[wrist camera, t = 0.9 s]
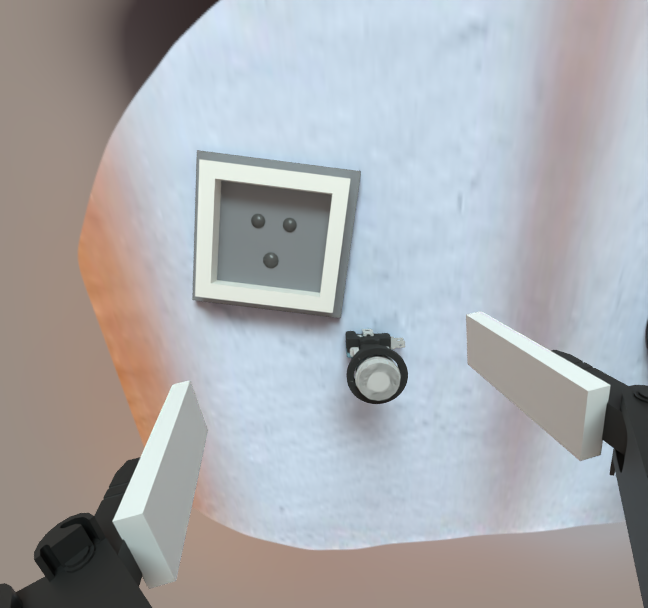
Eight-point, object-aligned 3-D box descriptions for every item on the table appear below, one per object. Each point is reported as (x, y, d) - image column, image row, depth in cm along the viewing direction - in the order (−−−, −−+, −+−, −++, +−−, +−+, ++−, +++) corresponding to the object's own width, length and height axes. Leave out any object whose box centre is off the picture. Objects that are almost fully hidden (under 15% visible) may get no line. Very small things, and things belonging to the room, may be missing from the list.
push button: (402, 317, 38) (427, 351, 29) (401, 362, 40) (425, 409, 30) (342, 318, 38) (346, 353, 29) (343, 363, 40) (347, 410, 30)
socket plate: (360, 172, 35) (362, 168, 32) (340, 315, 38) (341, 323, 35) (200, 152, 34) (188, 146, 32) (195, 297, 38) (185, 304, 35)
